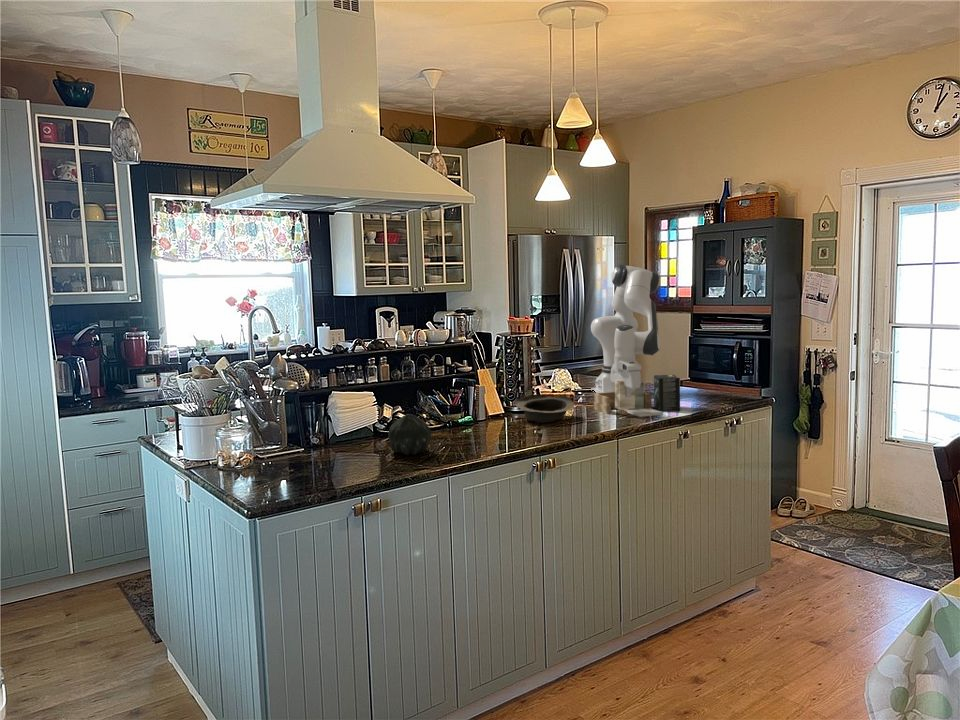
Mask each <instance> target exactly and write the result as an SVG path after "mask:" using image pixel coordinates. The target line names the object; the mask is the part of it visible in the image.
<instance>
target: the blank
mask: <svg viewBox="0 0 960 720" xmlns="http://www.w3.org/2000/svg"><path fill="white" fill-rule="evenodd" d="M626 393H627V387H625V386H624V381H621V380H615V408H614V409H617V410H622V409H632V408H635V389H633V390H632V392H631V397H629V398H628V397H626ZM622 411H623V410H622Z"/></svg>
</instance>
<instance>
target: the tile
mask: <svg viewBox="0 0 960 720" xmlns="http://www.w3.org/2000/svg"><path fill="white" fill-rule="evenodd" d="M626 413H629V414H630V415H634V416H636V417H639V418H640V417H641V418H643V417H652V415H653V416H663V415H664V411H659V410H658V409H655V408H654V409H653V408H652V407H651V408H644V409H633V410H627V411H626Z"/></svg>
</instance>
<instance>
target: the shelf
mask: <svg viewBox="0 0 960 720" xmlns="http://www.w3.org/2000/svg"><path fill="white" fill-rule="evenodd" d="M644 385H645V384H644V381H641V385H640V388H637V389H635V408H632V409H622V411H624V412H627V410H633V409H644V408H651V409H652V393H649V392H646V391H645V388H644ZM592 396H593V397H592V400H593V401H592V402H593V403H592V404H593V405H592V406H593V410H595V411H599V412H601V413H604V414H606V415H610V413H611V412H610V409H611V408H612V409H613V408H614V409H616V408H615V392H605V393H595V392H593V393H592Z"/></svg>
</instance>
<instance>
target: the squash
mask: <svg viewBox="0 0 960 720" xmlns="http://www.w3.org/2000/svg"><path fill="white" fill-rule="evenodd" d="M387 436H388V440H389V441H388V442H389V445H390V447H391V449H392V450H393V451H395V452H398V453H401V454H404V455H405V456H409V455H410V454H411V455H413V456H414V455H417V454H422V453H425V452H426V450H427V449H428V447H429V446H430V443H431V439H432V431H431V429H430V426H429V425H428V424H427V423H426V421H424V420H423V419H422V418H420V417H418V416H417V415H415V414H412V413H406V414H404V415H403V416H402V417H401V416H400V418H399V419H397V420H395V421H394V422H393V423H391V425H390V426H389V430H388V435H387Z"/></svg>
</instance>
